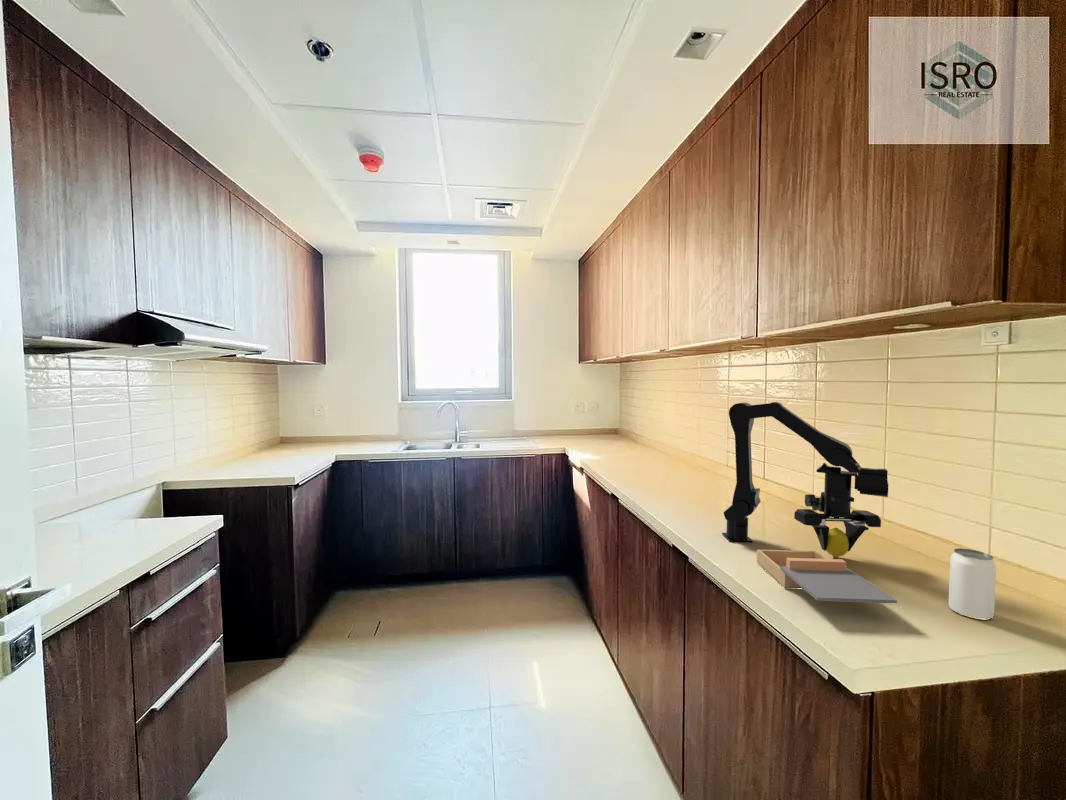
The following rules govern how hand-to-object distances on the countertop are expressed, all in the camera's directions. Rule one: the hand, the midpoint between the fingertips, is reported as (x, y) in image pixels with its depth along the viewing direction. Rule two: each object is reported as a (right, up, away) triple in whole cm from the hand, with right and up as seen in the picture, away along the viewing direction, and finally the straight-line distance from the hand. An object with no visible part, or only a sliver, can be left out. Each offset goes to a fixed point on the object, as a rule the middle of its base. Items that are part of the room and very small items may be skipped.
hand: (835, 550), depth 117 cm
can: (+8, -3, -27) cm, 29 cm away
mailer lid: (-16, +1, -24) cm, 29 cm away
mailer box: (-16, -2, -11) cm, 19 cm away
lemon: (0, -2, 0) cm, 2 cm away
